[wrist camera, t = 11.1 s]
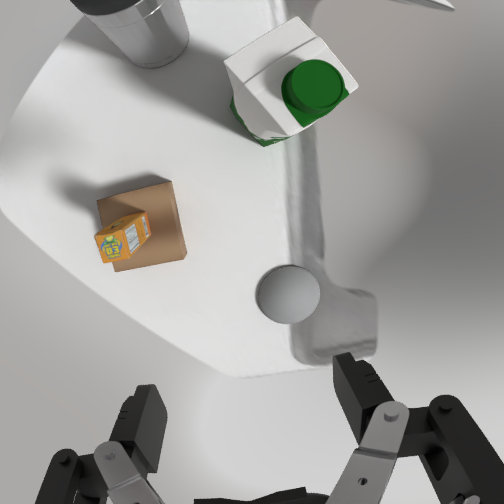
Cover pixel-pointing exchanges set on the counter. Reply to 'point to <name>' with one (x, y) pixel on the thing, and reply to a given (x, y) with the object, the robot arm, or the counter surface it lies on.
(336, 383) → the robot arm
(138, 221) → the supplement box
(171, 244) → the walnut plinth
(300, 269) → the grey coaster
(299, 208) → the counter surface
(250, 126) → the milk carton
